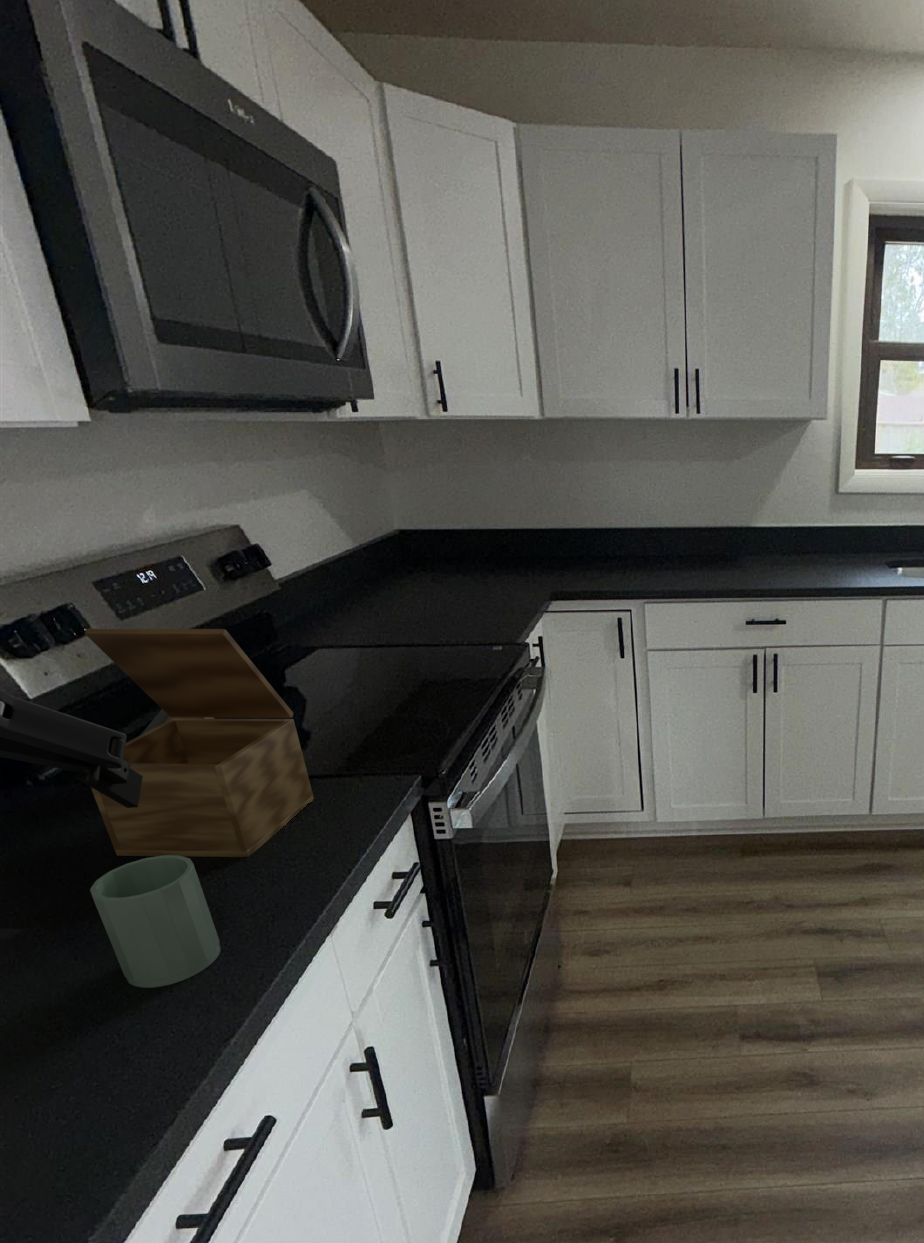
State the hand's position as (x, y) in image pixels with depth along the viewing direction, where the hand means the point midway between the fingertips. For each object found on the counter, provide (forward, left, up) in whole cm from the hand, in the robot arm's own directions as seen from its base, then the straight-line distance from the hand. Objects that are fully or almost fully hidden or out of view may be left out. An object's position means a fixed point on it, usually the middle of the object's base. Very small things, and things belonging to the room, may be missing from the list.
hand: (40, 799), depth 64 cm
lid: (-15, +39, -3) cm, 42 cm away
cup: (-2, +8, -22) cm, 24 cm away
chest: (-15, +36, -22) cm, 45 cm away
